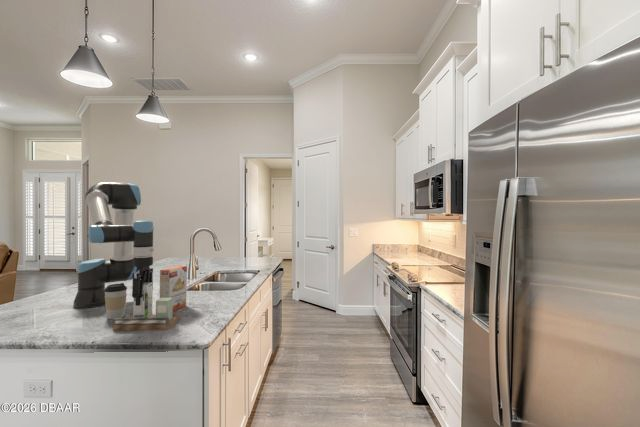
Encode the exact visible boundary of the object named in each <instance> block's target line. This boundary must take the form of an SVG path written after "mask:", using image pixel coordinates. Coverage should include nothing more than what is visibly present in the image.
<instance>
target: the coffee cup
mask: <svg viewBox="0 0 640 427" xmlns="http://www.w3.org/2000/svg"><path fill="white" fill-rule="evenodd" d="M127 289H128V288H127V286H126V285H125V282H121V283H114V284H109V285H107V286H106V287H105V290H104V291H105V311H106V319H108V320H113V319H116V318H124V316H125V311H126V303H127V294H128V293H127Z"/></svg>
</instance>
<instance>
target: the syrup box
mask: <svg viewBox="0 0 640 427" xmlns="http://www.w3.org/2000/svg"><path fill="white" fill-rule="evenodd" d="M153 283H154V282H151V283H144V284H143V291H142V297H143V313H135V298H133V311H132V312H133V314H132V315H133V318H148V317H150V316H151V315H153V292H152V291H153V290H152V288H153V289H154V286H153Z"/></svg>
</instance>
